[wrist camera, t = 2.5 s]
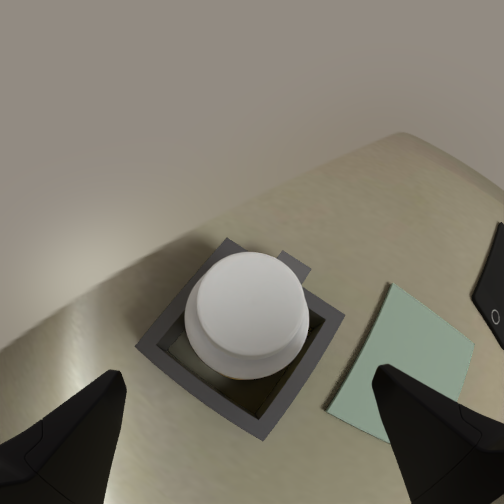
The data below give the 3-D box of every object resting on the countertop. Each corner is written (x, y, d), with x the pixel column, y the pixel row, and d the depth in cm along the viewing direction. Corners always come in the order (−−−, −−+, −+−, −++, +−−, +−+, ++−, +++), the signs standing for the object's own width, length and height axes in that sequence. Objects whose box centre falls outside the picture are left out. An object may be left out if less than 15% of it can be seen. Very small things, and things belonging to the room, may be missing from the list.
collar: (258, 432, 16) (263, 441, 13) (148, 352, 18) (134, 346, 15) (339, 308, 20) (355, 296, 17) (239, 242, 22) (240, 222, 20)
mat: (427, 459, 14) (429, 459, 14) (325, 411, 16) (327, 411, 16) (472, 344, 19) (474, 344, 18) (390, 284, 21) (393, 282, 21)
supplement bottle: (191, 366, 17) (149, 348, 8) (215, 295, 20) (203, 216, 11) (268, 389, 17) (308, 395, 8) (288, 316, 20) (336, 253, 11)
